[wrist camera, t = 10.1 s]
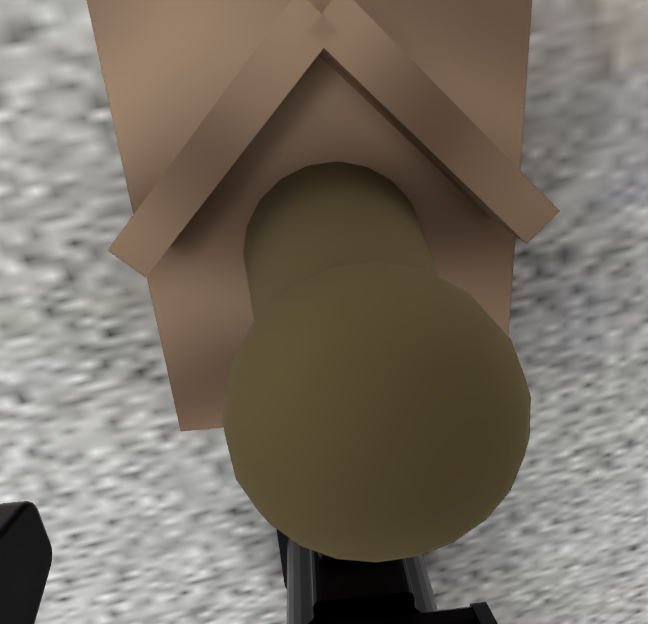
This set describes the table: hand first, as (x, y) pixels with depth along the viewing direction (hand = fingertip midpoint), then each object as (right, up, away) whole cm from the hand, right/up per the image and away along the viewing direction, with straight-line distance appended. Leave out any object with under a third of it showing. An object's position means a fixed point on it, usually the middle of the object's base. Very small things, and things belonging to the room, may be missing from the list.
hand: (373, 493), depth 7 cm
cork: (0, +5, +11) cm, 12 cm away
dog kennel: (0, +5, +12) cm, 13 cm away
